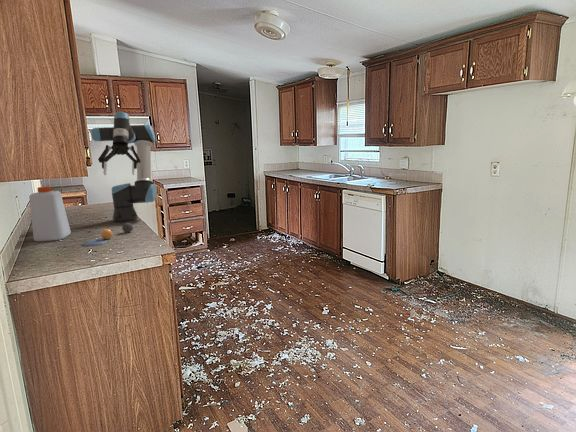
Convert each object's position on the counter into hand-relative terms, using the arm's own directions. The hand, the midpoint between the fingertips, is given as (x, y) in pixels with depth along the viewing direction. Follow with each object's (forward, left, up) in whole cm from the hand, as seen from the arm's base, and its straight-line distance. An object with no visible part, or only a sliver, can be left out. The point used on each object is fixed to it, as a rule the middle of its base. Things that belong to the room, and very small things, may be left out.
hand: (119, 174), depth 187 cm
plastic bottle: (-27, -32, -34) cm, 54 cm away
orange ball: (-2, -10, -31) cm, 32 cm away
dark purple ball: (-9, +3, -31) cm, 32 cm away
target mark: (+2, -16, -33) cm, 37 cm away
